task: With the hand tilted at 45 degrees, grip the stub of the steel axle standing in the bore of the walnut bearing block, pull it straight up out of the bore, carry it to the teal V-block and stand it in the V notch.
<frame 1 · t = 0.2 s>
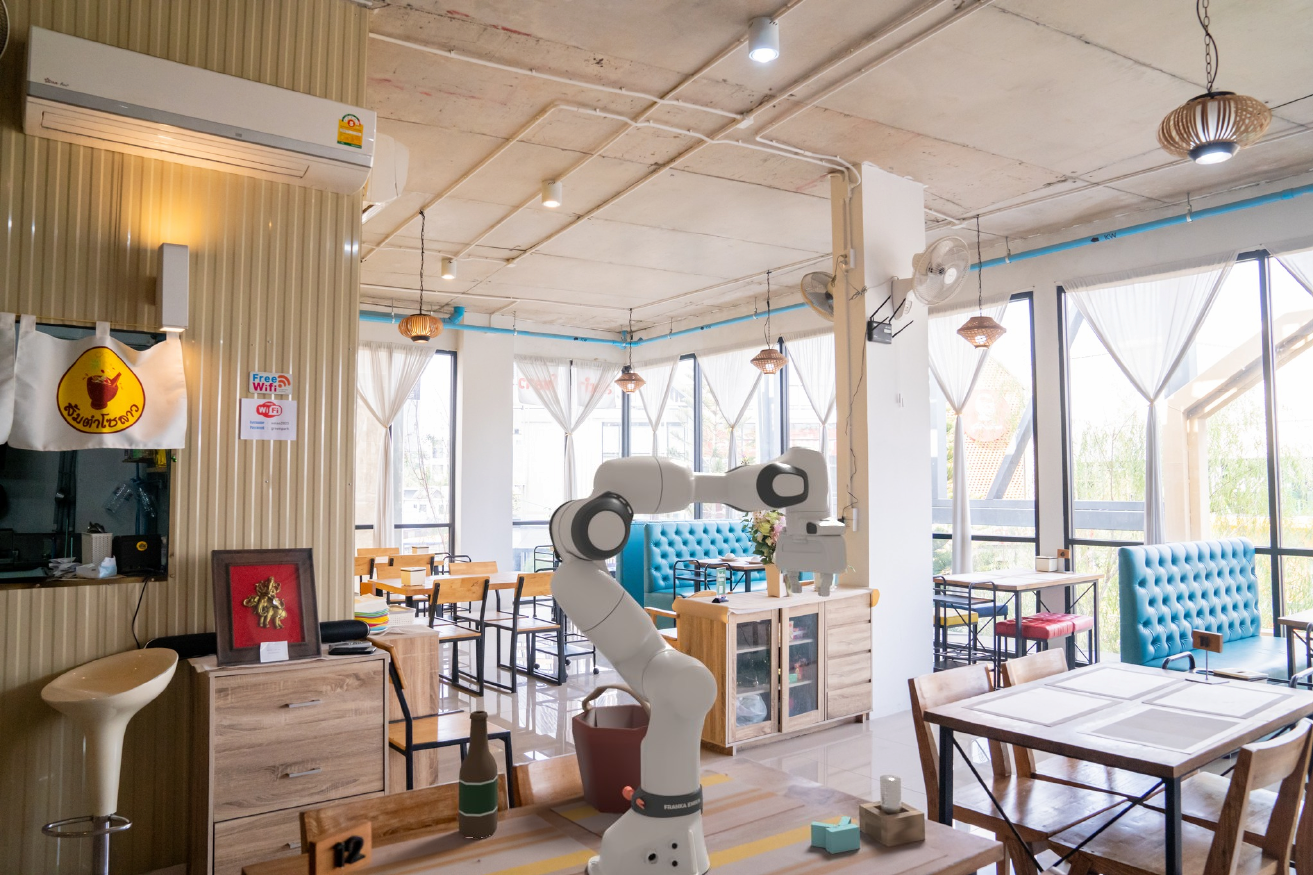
hand: (809, 594, 170), 48 cm above the table, tool pointing down, fingers open, 8 cm apart
teal V-block: (831, 841, 164), on the table
steel axle: (891, 806, 168), in the walnut bearing block
bucket: (625, 800, 188), on the table
beer bottle: (478, 833, 171), on the table
walnut bearing block: (891, 834, 167), on the table
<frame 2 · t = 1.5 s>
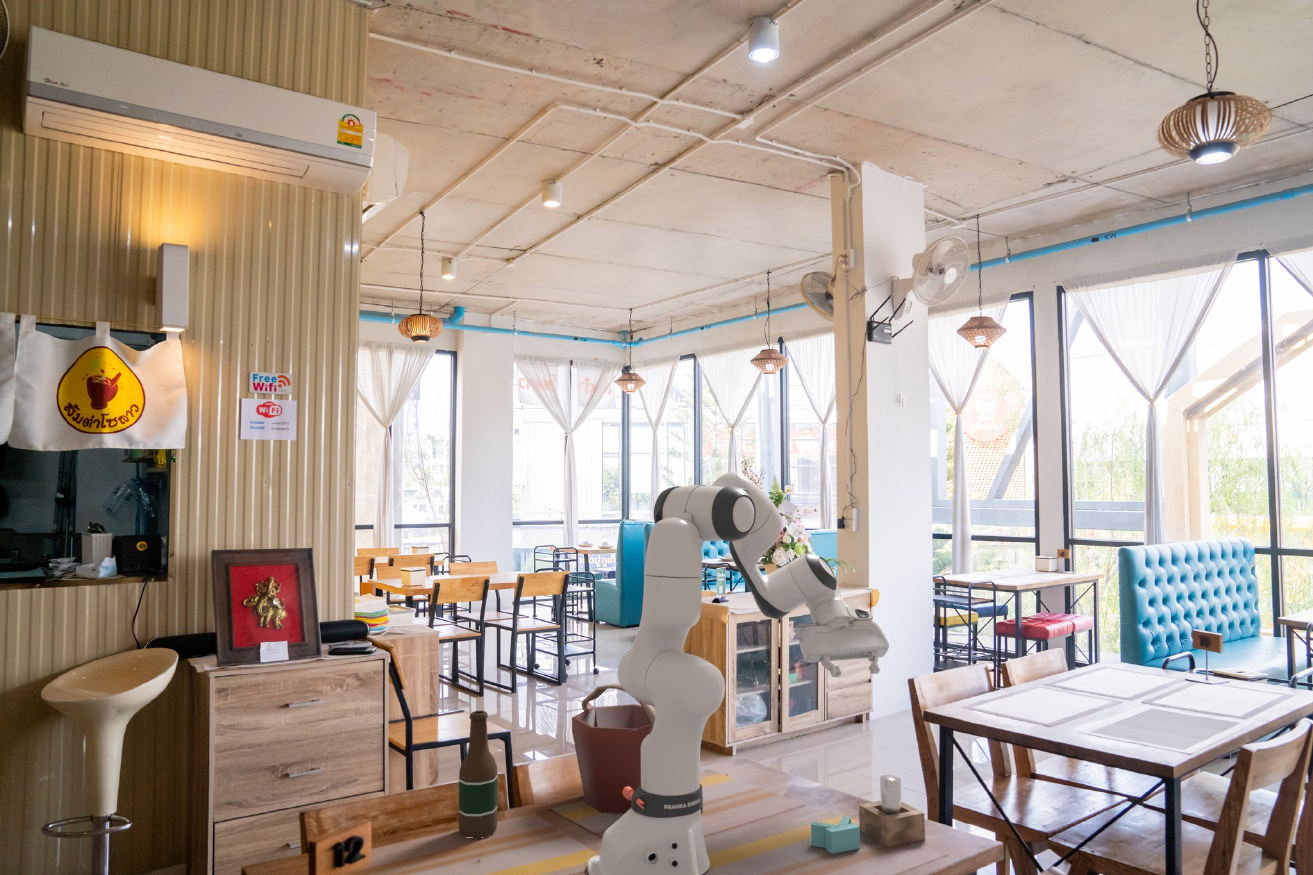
hand: (856, 674, 181), 29 cm above the table, tool tilted 45°, fingers open, 8 cm apart
nothing on the table moved.
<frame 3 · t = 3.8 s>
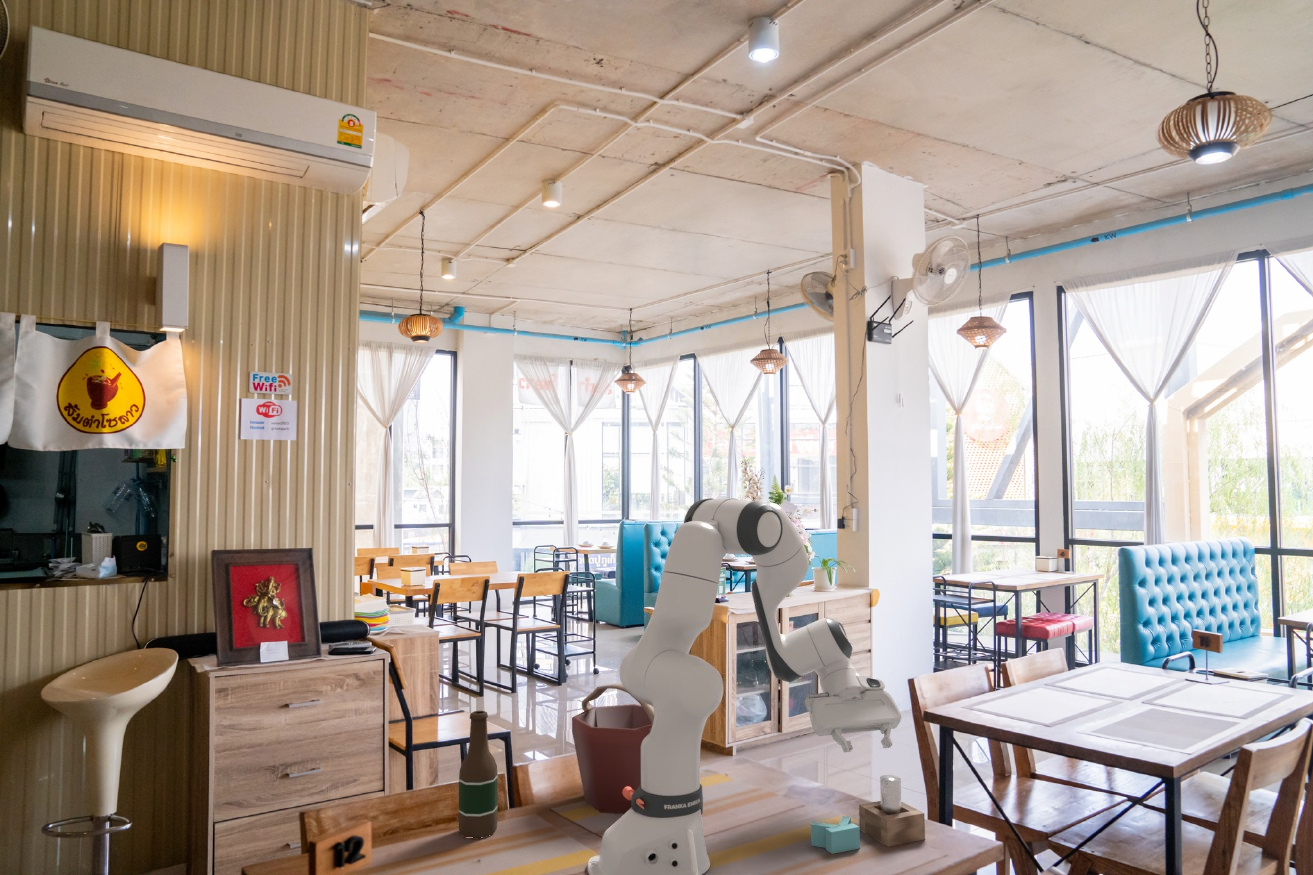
hand: (868, 748, 176), 15 cm above the table, tool tilted 45°, fingers open, 8 cm apart
nothing on the table moved.
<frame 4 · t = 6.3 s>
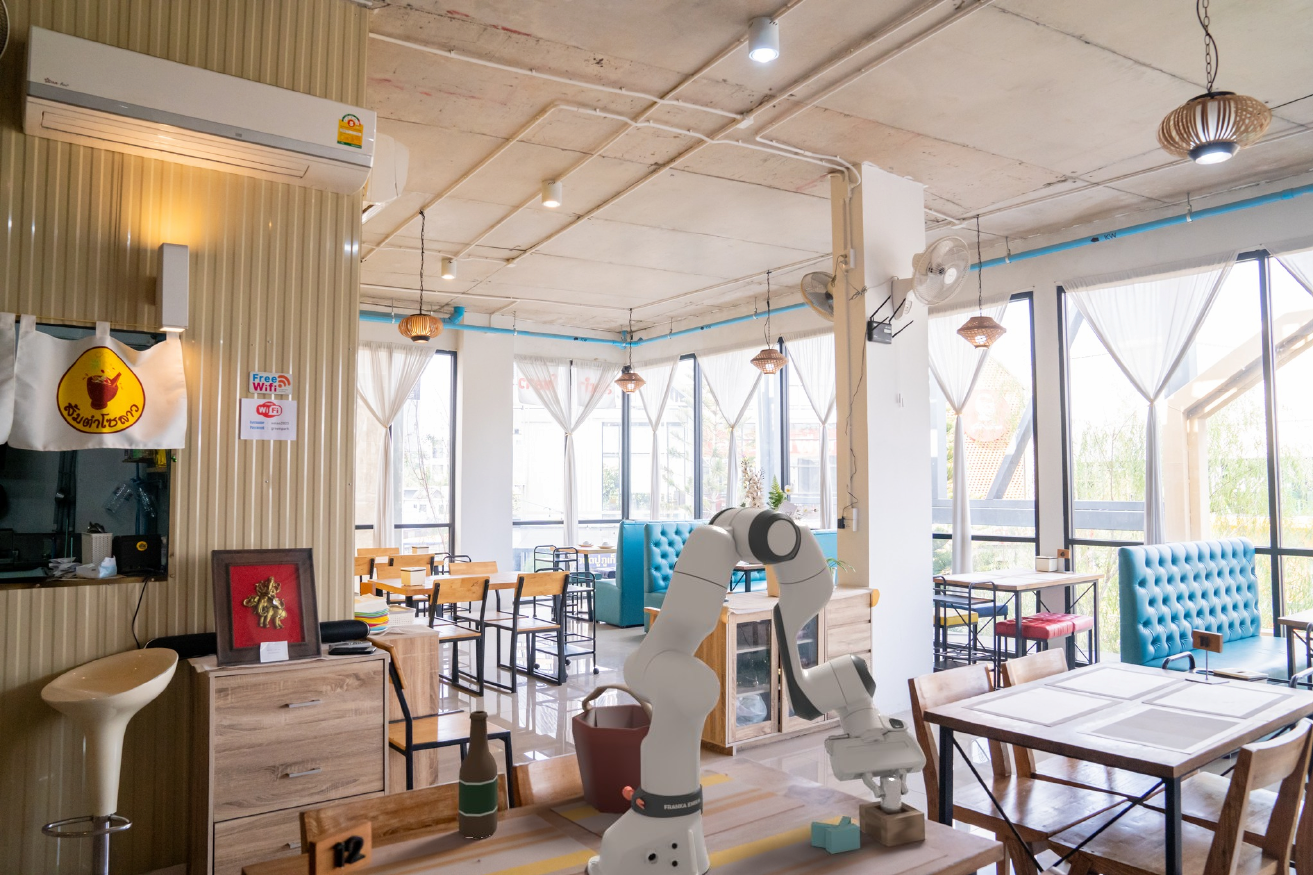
hand: (892, 795, 167), 8 cm above the table, tool tilted 45°, fingers closed on steel axle, 4 cm apart
steel axle: (891, 806, 168), in the walnut bearing block, touching gripper
everything else where it was.
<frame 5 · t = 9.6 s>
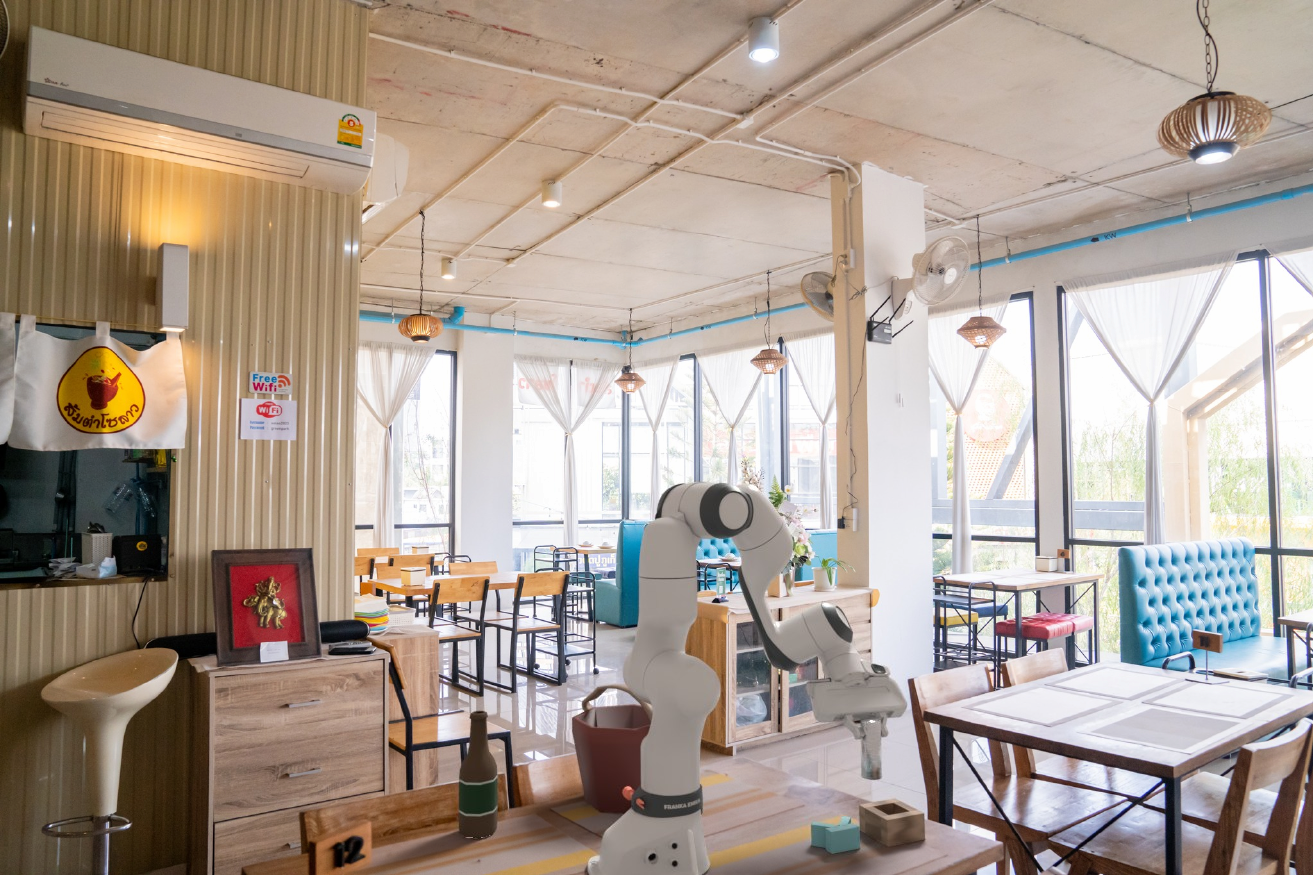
hand: (872, 736, 167), 20 cm above the table, tool tilted 45°, fingers closed on steel axle, 4 cm apart
steel axle: (871, 748, 168), point 17 cm above the table, touching gripper
everything else where it was.
when the fingers open (9 cm above the table, at t = 13.2 s): steel axle drops 1 cm, on the table.
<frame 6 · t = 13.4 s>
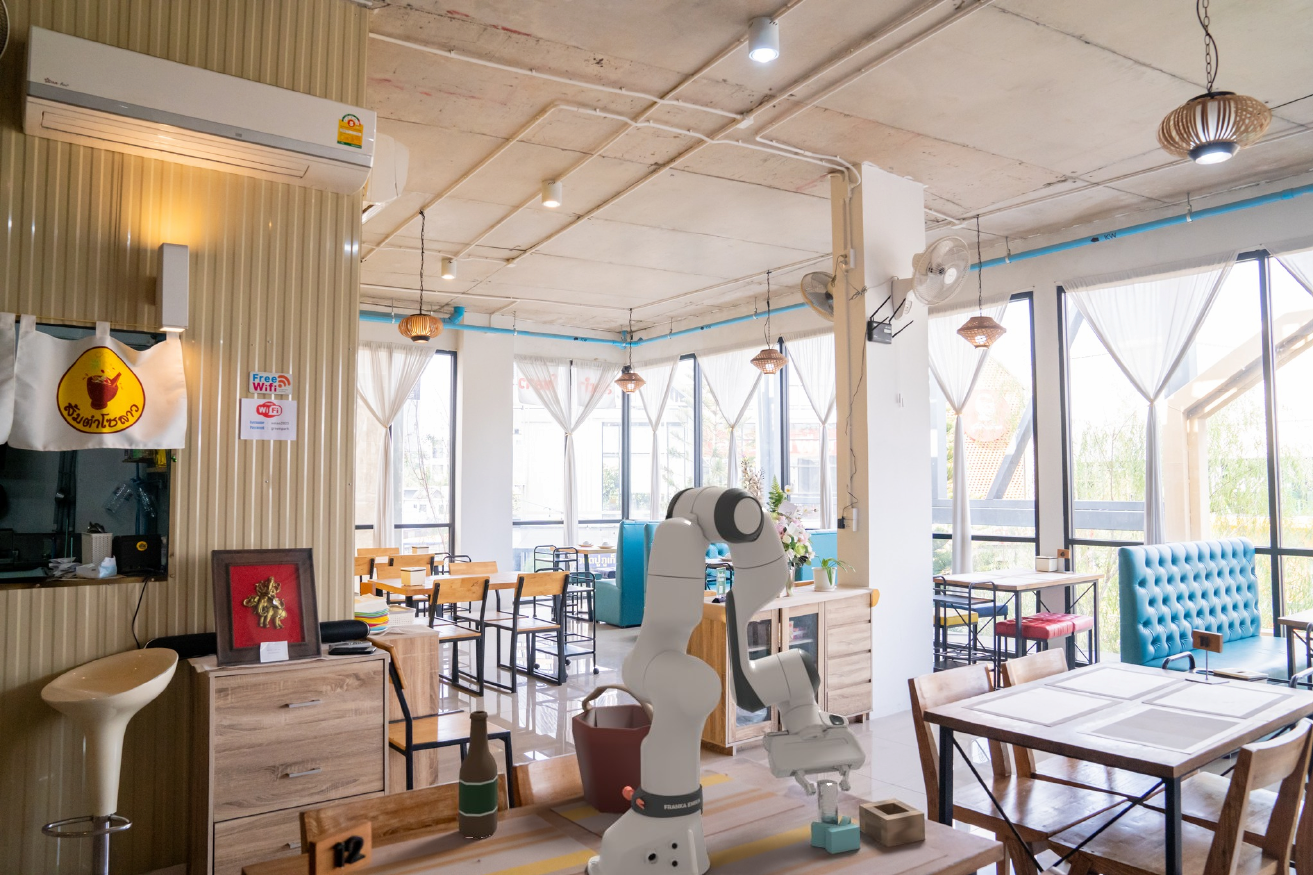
hand: (829, 792, 165), 9 cm above the table, tool tilted 45°, fingers open, 6 cm apart
steel axle: (827, 811, 165), on the table
everything else where it was.
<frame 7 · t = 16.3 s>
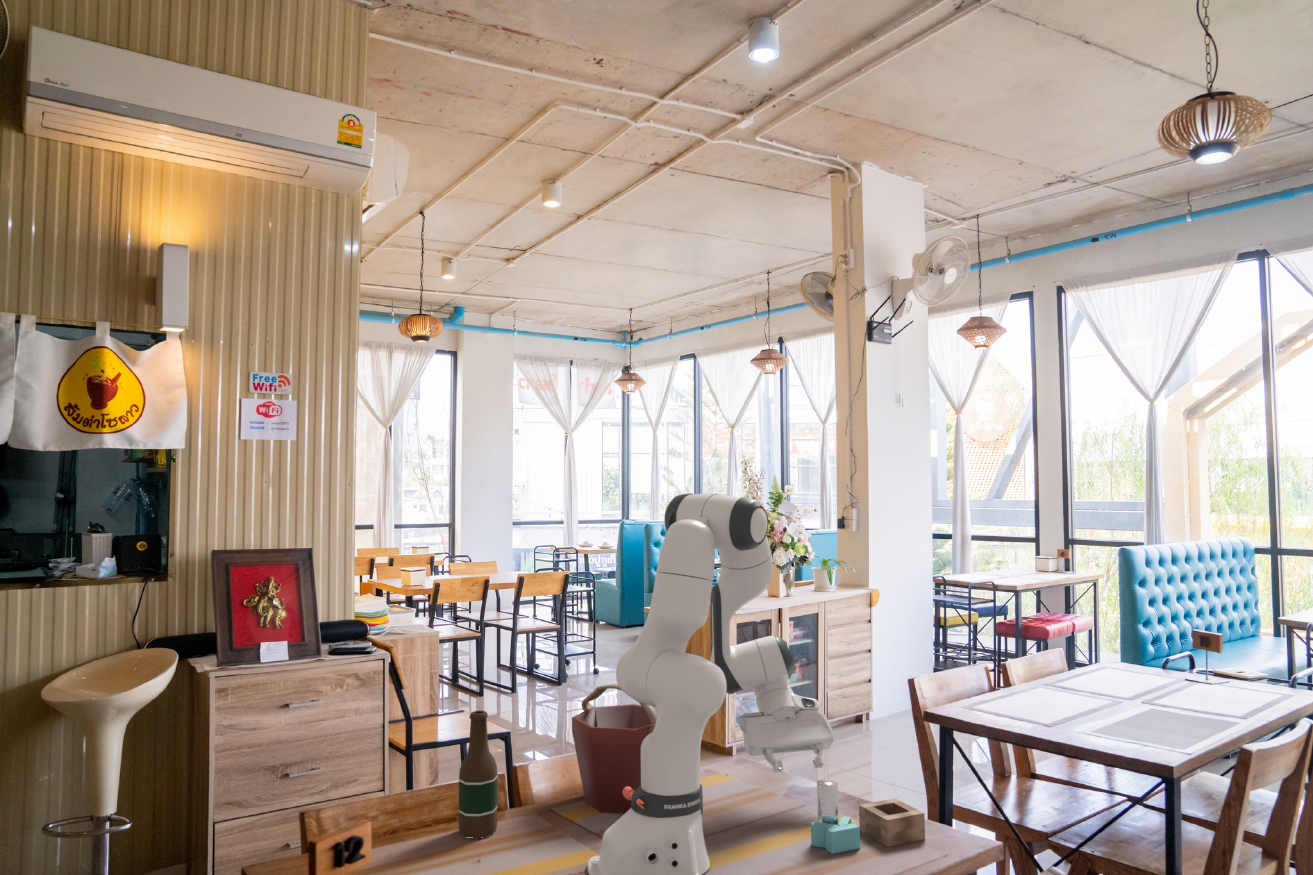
hand: (799, 768, 177), 10 cm above the table, tool tilted 45°, fingers open, 8 cm apart
nothing on the table moved.
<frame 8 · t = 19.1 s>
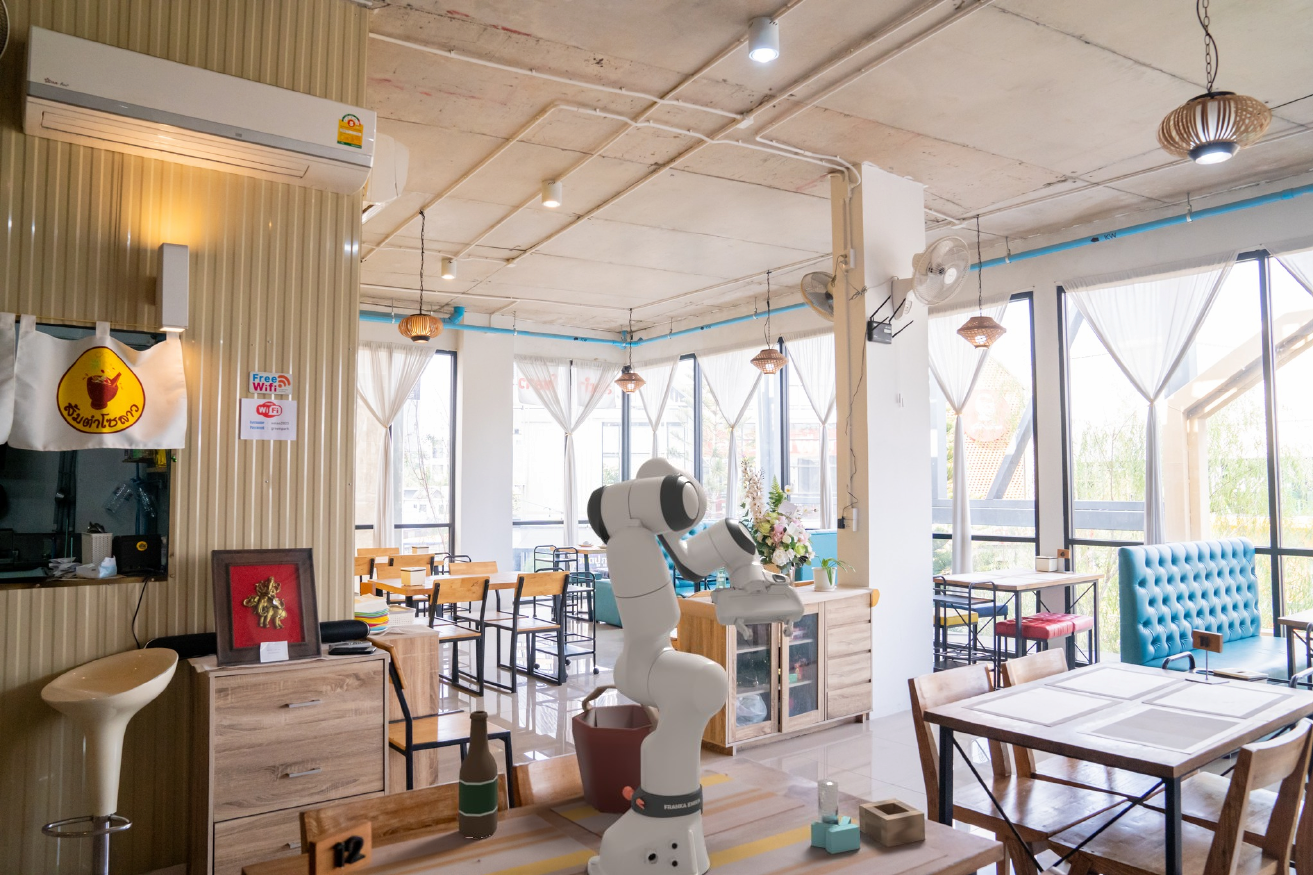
hand: (769, 636, 182), 37 cm above the table, tool tilted 45°, fingers open, 8 cm apart
nothing on the table moved.
at the end: steel axle 0.2 cm from the target spot on the teal V-block, point 5.5 cm above the teal V-block's base; steel axle tilted 1°; the gripper is holding nothing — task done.
